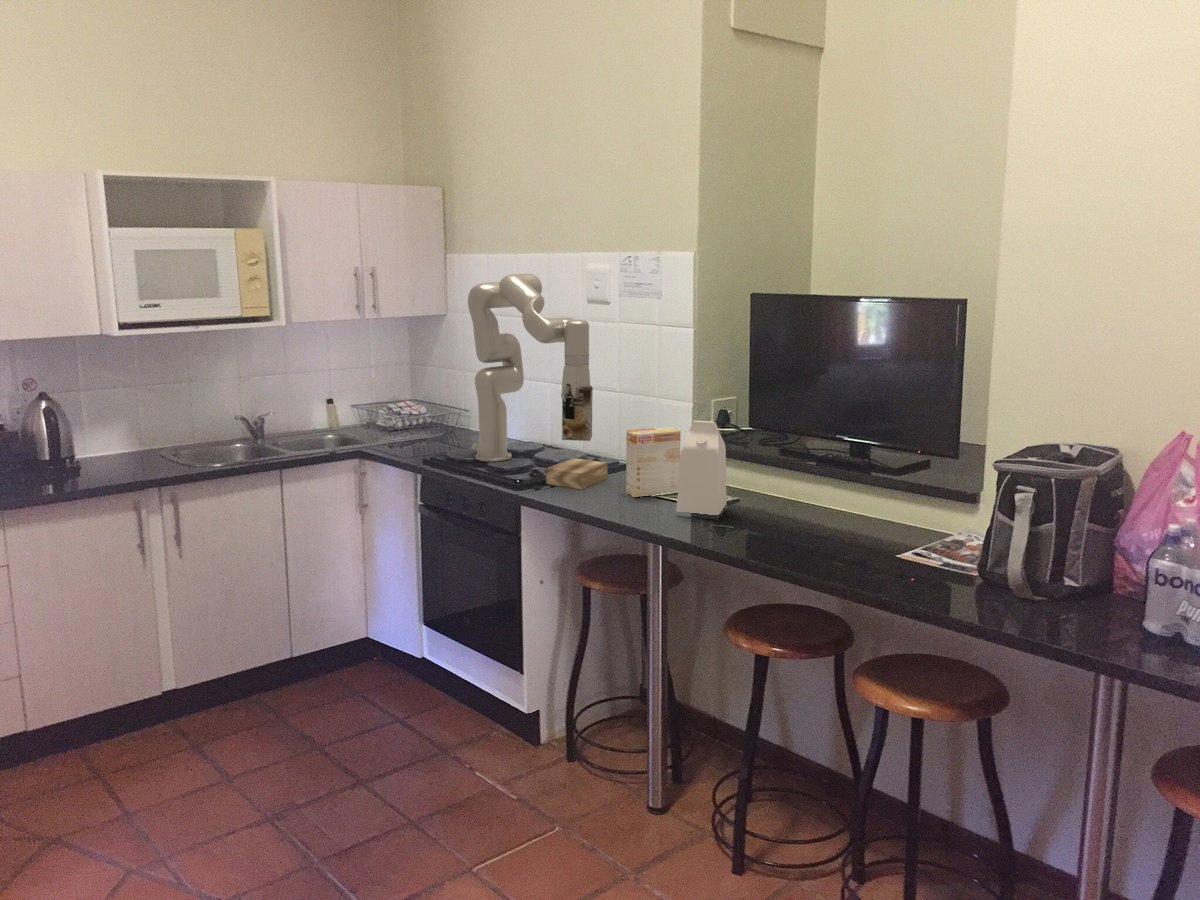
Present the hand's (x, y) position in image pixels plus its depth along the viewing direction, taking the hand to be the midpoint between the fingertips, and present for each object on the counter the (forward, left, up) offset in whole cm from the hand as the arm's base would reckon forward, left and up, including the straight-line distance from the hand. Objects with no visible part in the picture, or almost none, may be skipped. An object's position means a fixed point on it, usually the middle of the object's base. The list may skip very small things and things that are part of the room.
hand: (577, 416), depth 300 cm
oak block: (0, 0, -21) cm, 21 cm away
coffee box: (0, 0, -7) cm, 7 cm away
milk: (+48, -12, -21) cm, 54 cm away
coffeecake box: (+27, -1, -21) cm, 34 cm away
